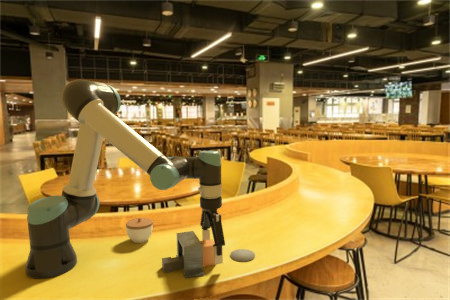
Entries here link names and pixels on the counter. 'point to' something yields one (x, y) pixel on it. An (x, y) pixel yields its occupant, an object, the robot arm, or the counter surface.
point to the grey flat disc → (242, 255)
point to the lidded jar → (139, 229)
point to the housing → (190, 254)
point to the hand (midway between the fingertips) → (212, 254)
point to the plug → (177, 262)
